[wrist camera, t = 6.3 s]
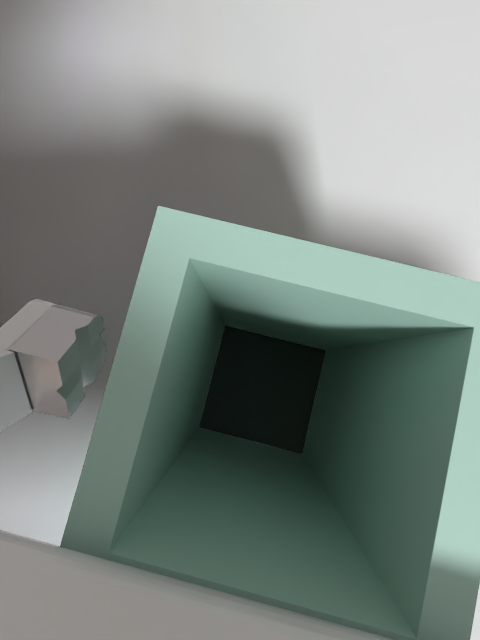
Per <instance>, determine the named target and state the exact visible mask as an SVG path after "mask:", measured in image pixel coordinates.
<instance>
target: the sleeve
mask: <svg viewBox="0 0 480 640" xmlns="http://www.w3.org/2000/svg"><path fill="white" fill-rule="evenodd" d="M225 325H226V326H230V327H234V328H238V329H242V330H246V331H250V332H254V333H258V334H262V335H266V336H270V337H274V338H278V339H282V340H286V341H290V342H294V343H298V344H302V345H306V346H310V347H314V348H318V349H322V350H326V351H325V355H324V360H323V364H322V369H321V373H320V377H319V382H318V386H317V391H316V395H315V399H314V404H313V408H312V413H311V417H310V422H309V426H308V430H307V435H306V439H305V444H304V448H303V452H302V454H300V453H296V452H292V451H288V450H284V449H280V448H277V447H273V446H269V445H265V444H261V443H258V442H254V441H250V440H246V439H242V438H239V437H235V436H231V435H227V434H223V433H220V432H216V431H212V430H208V429H204V428H200V427H199V426H200V422H201V418H202V414H203V411H204V407H205V403H206V399H207V395H208V391H209V387H210V383H211V379H212V376H213V372H214V368H215V364H216V360H217V356H218V352H219V348H220V345H221V341H222V337H223V333H224V329H225ZM60 547H63V548H67V549H70V550H74V551H77V552H81V553H85V554H88V555H92V556H95V557H99V558H103V559H106V560H110V561H113V562H117V563H121V564H124V565H128V566H131V567H135V568H139V569H142V570H146V571H149V572H153V573H157V574H160V575H164V576H167V577H171V578H174V579H178V580H182V581H185V582H189V583H192V584H196V585H200V586H203V587H207V588H210V589H214V590H218V591H221V592H225V593H228V594H232V595H236V596H239V597H243V598H246V599H250V600H254V601H257V602H261V603H264V604H268V605H272V606H275V607H279V608H282V609H286V610H290V611H293V612H297V613H300V614H304V615H308V616H311V617H315V618H318V619H322V620H326V621H329V622H333V623H336V624H340V625H344V626H347V627H351V628H354V629H358V630H361V631H365V632H369V633H372V634H376V635H379V636H383V637H387V638H390V639H394V640H470V636H471V630H472V624H473V618H474V612H475V606H476V600H477V595H478V589H479V583H480V282H477V281H473V280H468V279H464V278H460V277H456V276H452V275H447V274H443V273H439V272H435V271H431V270H426V269H422V268H418V267H414V266H410V265H405V264H401V263H397V262H393V261H389V260H384V259H380V258H376V257H372V256H368V255H363V254H359V253H355V252H351V251H347V250H342V249H338V248H334V247H330V246H326V245H321V244H317V243H313V242H309V241H305V240H300V239H296V238H292V237H288V236H284V235H279V234H275V233H271V232H267V231H263V230H258V229H254V228H250V227H246V226H242V225H237V224H233V223H229V222H225V221H221V220H216V219H212V218H208V217H204V216H200V215H195V214H191V213H187V212H183V211H179V210H174V209H170V208H166V207H162V206H158V208H157V211H156V215H155V218H154V222H153V225H152V229H151V232H150V236H149V239H148V243H147V246H146V250H145V253H144V257H143V260H142V263H141V267H140V270H139V274H138V277H137V281H136V284H135V288H134V291H133V295H132V298H131V302H130V305H129V309H128V312H127V316H126V319H125V323H124V326H123V329H122V333H121V336H120V340H119V343H118V347H117V350H116V354H115V357H114V361H113V364H112V368H111V371H110V375H109V378H108V382H107V385H106V389H105V392H104V396H103V399H102V402H101V406H100V409H99V413H98V416H97V420H96V423H95V427H94V430H93V434H92V437H91V441H90V444H89V448H88V451H87V455H86V458H85V462H84V465H83V469H82V472H81V475H80V479H79V482H78V486H77V489H76V493H75V496H74V500H73V503H72V507H71V510H70V514H69V517H68V521H67V524H66V528H65V531H64V535H63V538H62V541H61V545H60Z"/></svg>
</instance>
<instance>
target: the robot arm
mask: <svg viewBox="0 0 480 640" xmlns="http://www.w3.org/2000/svg"><path fill="white" fill-rule="evenodd" d="M103 330H104V322H103V318H102V317H101V316H99V315H96V314H93V313H89V312H85V311H82V310H78V309H75V308H71V307H67V306H64V305H60V304H54V303H51V302H47V301H44V300H40V299H34V300H31V301H29V302H28V303H27V304H26V305H25V306H24V307H23V308H21V309H20V310H19V311H18V312H17V313H16V314H15V315H14V316H13V317H11V318H10V319H9V320H8V321H7V322H6V323H5V324H4V325H3V326H2V327H0V432H1V431H3V430H4V429H6V428H8V427H9V426H11V425H13V424H14V423H16V422H17V421H19V420H21V419H22V418H24V417H26V416H27V415H29V414H31V413H32V410H33V411H37V412H41V413H46V414H50V415H54V416H59V417H63V418H67V419H70V417H71V416H72V414H73V413H74V411H75V410H76V408H77V407H78V406H79V404H80V403H81V401H82V400H83V398H84V397H85V393H84V386H86V385H88V384H90V383H92V382H94V381H95V380H96V378H97V377H98V375H99V374H100V372H101V369H102V367H103V364H104V361H105V356H106V343H105V342H104V341H103V339H102V338H101V337H100V334H101V333H102V332H103ZM0 640H394V639H390V638H387V637H383V636H379V635H376V634H372V633H369V632H365V631H361V630H358V629H354V628H351V627H347V626H344V625H340V624H336V623H333V622H329V621H326V620H322V619H318V618H315V617H311V616H308V615H304V614H300V613H297V612H293V611H290V610H286V609H282V608H279V607H275V606H272V605H268V604H264V603H261V602H257V601H254V600H250V599H246V598H243V597H239V596H236V595H232V594H228V593H225V592H221V591H218V590H214V589H210V588H207V587H203V586H200V585H196V584H192V583H189V582H185V581H182V580H178V579H174V578H171V577H167V576H164V575H160V574H157V573H153V572H149V571H146V570H142V569H139V568H135V567H131V566H128V565H124V564H121V563H117V562H113V561H110V560H106V559H103V558H99V557H95V556H92V555H88V554H85V553H81V552H77V551H74V550H70V549H67V548H63V547H59V546H56V545H52V544H49V543H45V542H41V541H38V540H34V539H31V538H27V537H23V536H20V535H16V534H13V533H9V532H5V531H2V530H0Z"/></svg>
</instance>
